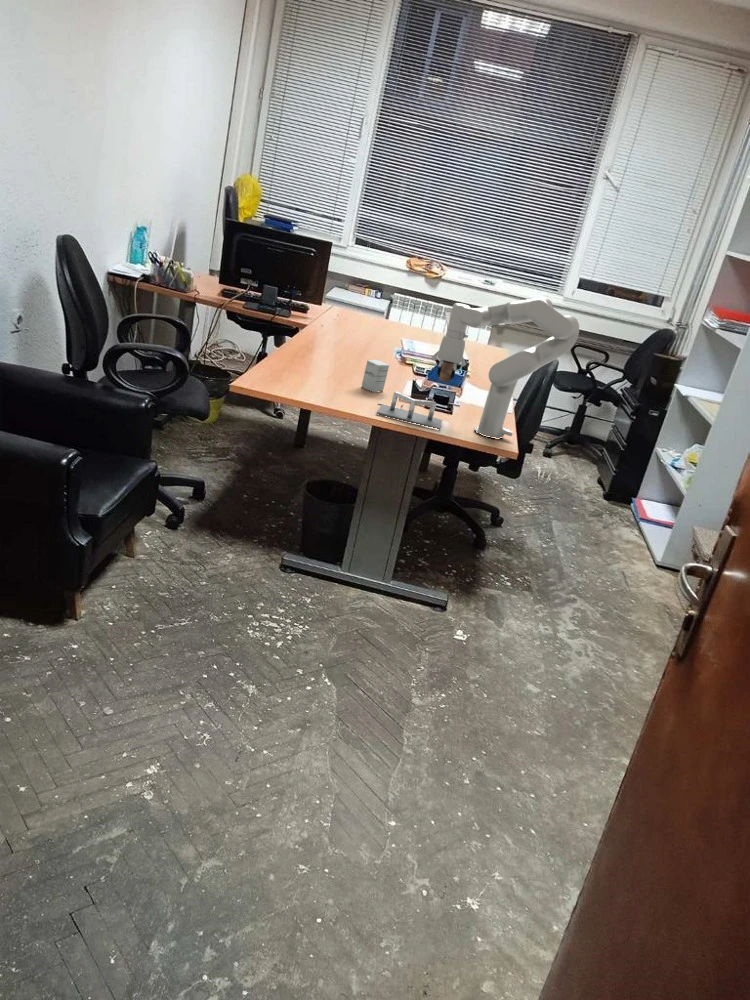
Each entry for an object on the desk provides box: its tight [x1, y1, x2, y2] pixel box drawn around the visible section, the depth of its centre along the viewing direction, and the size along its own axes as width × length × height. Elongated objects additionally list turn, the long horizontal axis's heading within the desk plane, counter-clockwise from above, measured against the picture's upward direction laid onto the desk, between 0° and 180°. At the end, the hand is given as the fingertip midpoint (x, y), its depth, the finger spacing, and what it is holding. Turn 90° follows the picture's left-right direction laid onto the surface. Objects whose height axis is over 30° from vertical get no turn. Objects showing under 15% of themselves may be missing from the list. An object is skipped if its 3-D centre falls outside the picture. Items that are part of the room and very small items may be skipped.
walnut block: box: [438, 361, 454, 384], centre depth 315 cm, size 4×4×8 cm
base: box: [376, 404, 443, 430], centre depth 310 cm, size 26×13×1 cm, turn 81°
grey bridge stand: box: [390, 391, 437, 420], centre depth 308 cm, size 18×7×8 cm, turn 81°
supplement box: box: [361, 359, 390, 393], centre depth 336 cm, size 7×7×13 cm
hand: (445, 377), depth 316 cm, fingers closed on walnut block, 4 cm apart
